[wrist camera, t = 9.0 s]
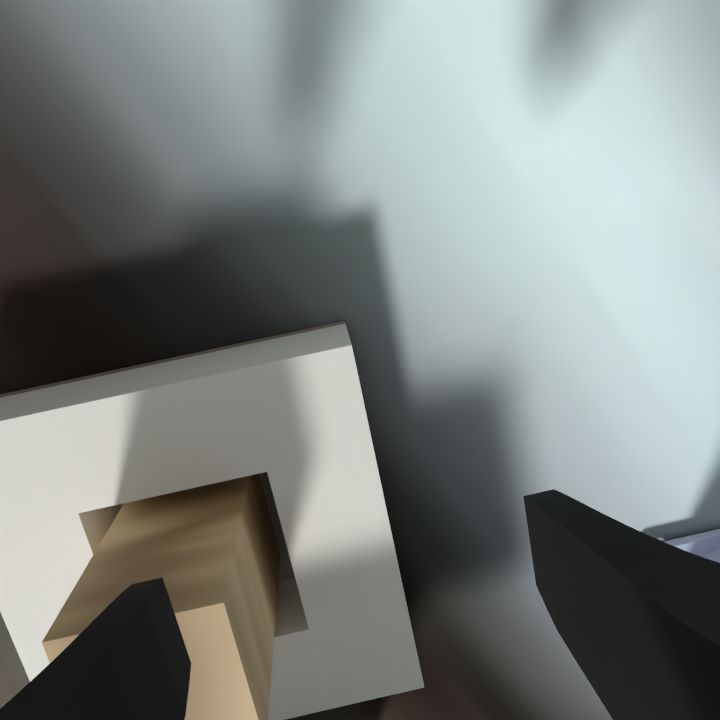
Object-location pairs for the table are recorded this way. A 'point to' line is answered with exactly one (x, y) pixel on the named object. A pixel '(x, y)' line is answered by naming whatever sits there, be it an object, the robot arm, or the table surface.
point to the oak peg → (195, 588)
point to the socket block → (208, 466)
